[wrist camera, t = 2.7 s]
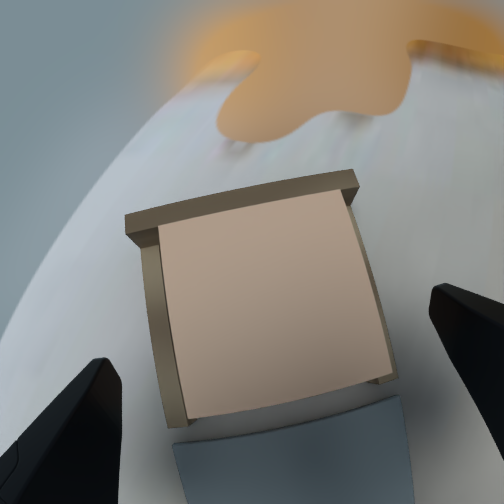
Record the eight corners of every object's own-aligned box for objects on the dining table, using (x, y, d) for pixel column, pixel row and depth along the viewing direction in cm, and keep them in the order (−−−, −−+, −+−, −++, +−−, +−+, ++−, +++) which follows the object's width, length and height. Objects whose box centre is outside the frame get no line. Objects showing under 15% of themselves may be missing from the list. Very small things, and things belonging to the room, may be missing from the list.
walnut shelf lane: (384, 376, 15) (416, 379, 12) (178, 421, 15) (154, 437, 11) (337, 205, 19) (352, 168, 15) (151, 244, 18) (124, 214, 14)
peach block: (320, 366, 16) (392, 372, 6) (233, 385, 16) (188, 419, 6) (300, 283, 17) (340, 189, 8) (217, 301, 17) (158, 226, 8)
